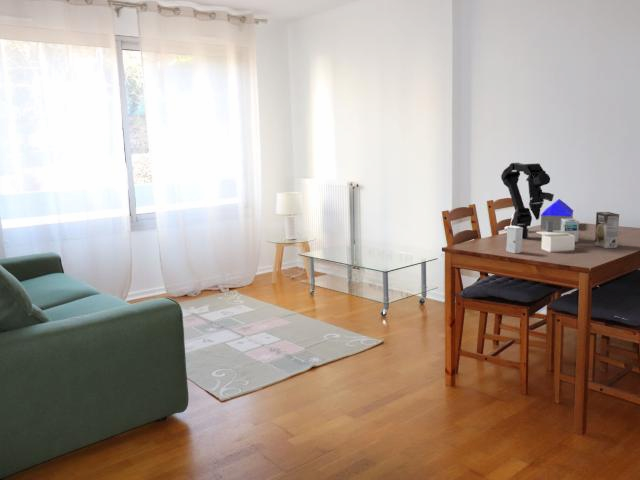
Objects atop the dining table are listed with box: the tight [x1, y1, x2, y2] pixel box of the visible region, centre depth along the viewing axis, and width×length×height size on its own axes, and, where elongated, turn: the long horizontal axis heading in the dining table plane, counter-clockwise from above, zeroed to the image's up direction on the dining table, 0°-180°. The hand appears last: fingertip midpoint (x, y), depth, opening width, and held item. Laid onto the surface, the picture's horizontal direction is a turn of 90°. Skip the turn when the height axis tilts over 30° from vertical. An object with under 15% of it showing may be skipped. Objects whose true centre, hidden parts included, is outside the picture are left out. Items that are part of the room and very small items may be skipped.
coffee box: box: [594, 211, 620, 249], centre depth 273 cm, size 9×6×16 cm
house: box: [540, 198, 574, 231], centre depth 335 cm, size 25×16×16 cm, turn 153°
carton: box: [540, 234, 576, 253], centre depth 269 cm, size 8×12×7 cm, turn 98°
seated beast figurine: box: [504, 210, 515, 231], centre depth 324 cm, size 10×9×12 cm
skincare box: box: [505, 225, 523, 254], centre depth 267 cm, size 6×4×12 cm
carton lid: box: [535, 221, 570, 236], centre depth 273 cm, size 8×12×5 cm
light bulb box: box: [560, 218, 580, 243], centre depth 291 cm, size 11×7×11 cm, turn 168°
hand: (537, 218), depth 286 cm, fingers open, 9 cm apart
